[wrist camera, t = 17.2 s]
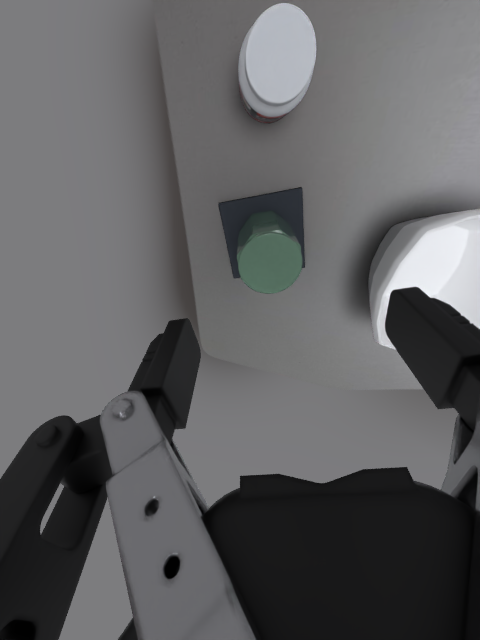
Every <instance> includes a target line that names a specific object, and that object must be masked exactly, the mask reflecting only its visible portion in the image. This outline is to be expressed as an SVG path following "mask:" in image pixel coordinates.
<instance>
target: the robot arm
mask: <svg viewBox="0 0 480 640" xmlns="http://www.w3.org/2000/svg"><path fill="white" fill-rule="evenodd" d="M385 331H386V334H387V337H388V338H389V340H390V341H391V343H392V344H393V346H394V347H395V348H396V350H397V351H398V353H399V354H400V356H401V357H402V358H403V360H404V361H405V363H406V364H407V366H408V367H409V368H410V370H411V371H412V373H413V374H414V376H415V377H416V378H417V380H418V381H419V383H420V384H421V386H422V387H423V388H424V390H425V391H426V393H427V394H428V395H429V397H430V398H431V400H432V401H433V402H434V404H435V406H436V407H437V408H438V409H445V408H455V409H456V410H457V412H458V413H459V414H458V416H457V418H456V422H455V428H454V434H453V440H452V446H451V453H450V459H449V464H448V470H447V473H446V477H445V479H444V482H443V484H442V487H441V490H439V489H437V488H434V487H432V486H429V485H426V484H423V483H420V482H417V481H413V479H412V477H411V475H410V473H409V471H408V469H407V467H400V468H381V469H363V470H361V471H358V472H355V473H352V474H350V475H347V476H344V477H341V478H339V479H335V480H333V481H330V482H327V483H315V482H311V481H307V480H303V479H298V478H294V477H290V476H285V475H281V474H270V475H250V476H240V488H238V489H236V490H234V491H232V492H230V493H228V494H226V495H224V496H223V497H222V498H220V499H219V500H218V501H216V502H215V503H214V504H213V505H212V506H211V507H210V508H209V506H208V505H207V503H206V501H205V499H204V497H203V496H202V494H201V492H200V490H199V489H198V487H197V485H196V483H195V482H194V480H193V478H192V476H191V474H190V472H189V470H188V468H187V466H186V464H185V462H184V460H183V458H182V456H181V454H180V453H179V450H178V449H177V447H176V445H175V443H174V441H173V439H172V437H173V433H174V429H183V428H186V423H187V418H188V414H189V409H190V404H191V399H192V395H193V391H194V386H195V381H196V377H197V372H198V368H199V363H200V358H201V353H200V347H199V344H198V341H197V338H196V336H195V333H194V330H193V328H192V325H191V323H190V321H189V319H187V318H186V319H179V320H172V321H169V322H168V325H167V327H166V329H165V332H164V333H163V334H159V335H158V336H157V337H156V338H155V339H154V340H153V341H152V342H151V343H150V345H149V347H148V350H147V352H146V354H145V356H144V358H143V362H141V364H140V366H139V369H138V371H137V373H136V375H135V377H134V379H133V381H132V383H131V385H130V387H129V390H128V392H125V393H122V394H120V395H118V396H117V397H115V398H114V399H113V400H111V402H109V403H108V405H107V406H106V407H105V408H104V410H103V411H102V414H101V415H99V416H96V417H94V418H91V419H88V420H85V421H83V422H80V423H76V422H75V421H74V420H73V419H72V418H71V417H69V416H58V417H55V418H53V419H51V420H49V421H47V422H45V423H44V424H43V425H41V426H40V427H39V428H37V429H36V430H35V431H34V432H33V433H32V434H31V436H30V437H29V438H28V439H27V441H26V442H25V444H24V445H23V447H22V448H21V450H20V451H19V452H18V454H17V455H16V457H15V458H14V460H13V461H12V463H11V464H10V466H9V467H8V469H7V470H6V472H5V473H4V474H3V476H2V478H1V479H0V640H58V639H59V636H60V633H61V631H62V628H63V625H64V621H65V619H66V616H67V613H68V610H69V607H70V605H71V601H72V598H73V596H74V593H75V590H76V587H77V584H78V581H79V578H80V576H81V573H82V570H83V567H84V564H85V561H86V558H87V555H88V552H89V550H90V547H91V544H92V541H93V538H94V535H95V532H96V529H97V526H98V523H99V521H100V518H101V514H102V512H103V509H104V506H105V503H106V500H107V497H108V500H109V505H110V510H111V514H112V519H113V524H114V529H115V533H116V538H117V543H118V547H119V552H120V557H121V562H122V566H123V571H124V576H125V580H126V585H127V590H128V595H129V599H130V604H131V609H132V614H133V618H132V620H131V621H130V623H129V624H128V626H127V627H126V629H125V630H124V632H123V633H122V635H121V636H120V637H119V639H118V640H480V329H479V328H477V327H476V326H475V325H474V324H473V323H471V324H470V321H469V320H468V319H467V318H465V317H464V316H461V313H459V312H458V311H457V310H456V309H454V308H453V307H452V306H451V305H450V304H447V303H445V302H443V301H441V300H438V299H436V298H430V297H429V296H428V295H427V294H425V293H424V292H423V291H422V290H421V289H420V288H418V287H409V288H402V289H395V290H393V291H392V292H391V294H390V298H389V304H388V309H387V314H386V320H385ZM60 483H61V484H62V485H64V488H63V490H62V493H61V495H60V497H59V499H58V501H57V503H56V505H55V507H54V509H53V511H52V513H51V515H50V518H49V520H48V522H47V524H46V526H45V528H44V530H43V532H42V534H41V535H40V525H41V521H42V518H43V516H44V514H45V512H46V510H47V508H48V506H49V504H50V502H51V500H52V498H53V496H54V494H55V492H56V490H57V488H58V486H59V484H60Z"/></svg>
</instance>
